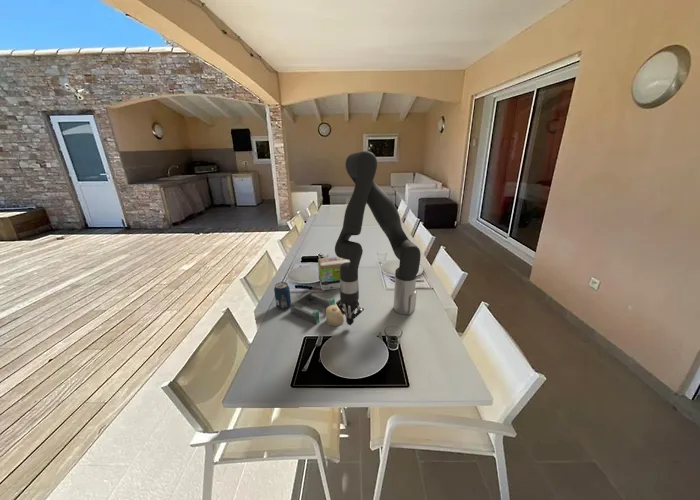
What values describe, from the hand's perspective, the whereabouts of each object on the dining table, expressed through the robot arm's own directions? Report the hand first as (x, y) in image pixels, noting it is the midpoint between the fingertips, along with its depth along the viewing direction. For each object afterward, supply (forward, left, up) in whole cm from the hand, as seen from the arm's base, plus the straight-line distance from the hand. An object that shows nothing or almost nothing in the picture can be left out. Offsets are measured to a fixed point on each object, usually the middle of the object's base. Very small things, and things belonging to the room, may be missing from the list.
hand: (350, 323), depth 121 cm
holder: (+21, 0, -2) cm, 21 cm away
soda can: (+35, +5, -2) cm, 35 cm away
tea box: (+28, -25, -2) cm, 38 cm away
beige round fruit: (+8, 0, -2) cm, 8 cm away
